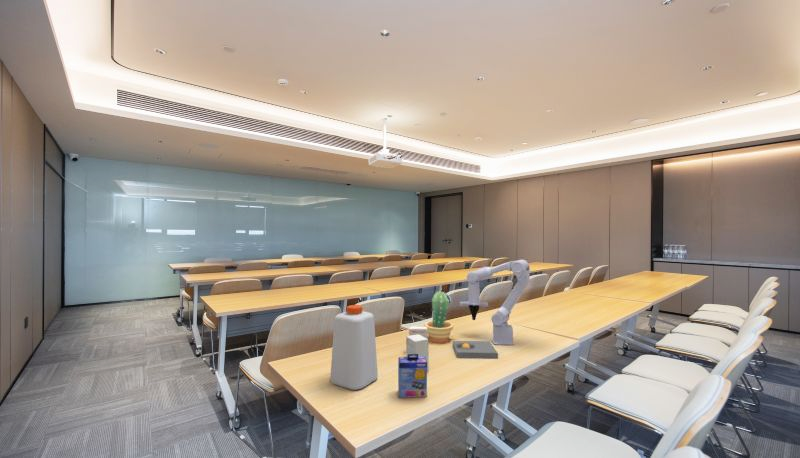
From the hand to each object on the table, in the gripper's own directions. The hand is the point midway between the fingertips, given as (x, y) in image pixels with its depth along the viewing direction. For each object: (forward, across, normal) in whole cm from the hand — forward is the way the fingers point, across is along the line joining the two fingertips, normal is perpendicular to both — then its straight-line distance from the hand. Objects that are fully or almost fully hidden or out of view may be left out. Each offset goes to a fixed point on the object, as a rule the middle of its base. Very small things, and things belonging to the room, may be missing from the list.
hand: (473, 319), depth 179 cm
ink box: (+10, -28, -26) cm, 40 cm away
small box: (+10, -28, -45) cm, 54 cm away
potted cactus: (+10, -19, -6) cm, 22 cm away
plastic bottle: (+10, -52, -57) cm, 78 cm away
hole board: (+9, -3, -22) cm, 24 cm away
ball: (+7, -6, -23) cm, 25 cm away
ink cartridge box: (+10, -29, -66) cm, 73 cm away
